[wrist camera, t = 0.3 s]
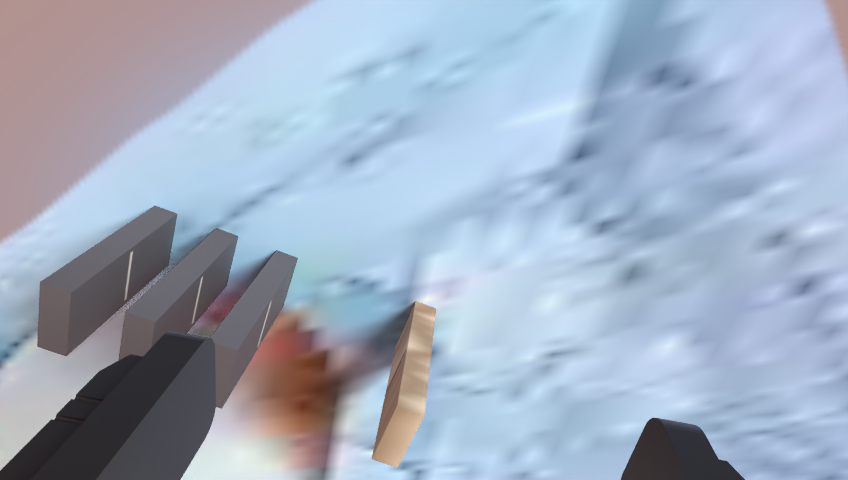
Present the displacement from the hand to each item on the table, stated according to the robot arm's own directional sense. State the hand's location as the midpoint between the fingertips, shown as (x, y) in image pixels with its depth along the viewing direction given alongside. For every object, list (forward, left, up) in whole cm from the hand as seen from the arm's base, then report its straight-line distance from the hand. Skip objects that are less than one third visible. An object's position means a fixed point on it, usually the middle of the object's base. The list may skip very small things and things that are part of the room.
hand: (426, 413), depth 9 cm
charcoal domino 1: (-15, +21, -29) cm, 39 cm away
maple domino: (-19, 0, -29) cm, 34 cm away
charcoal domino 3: (-17, +11, -29) cm, 35 cm away
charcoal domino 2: (-16, +16, -29) cm, 37 cm away
